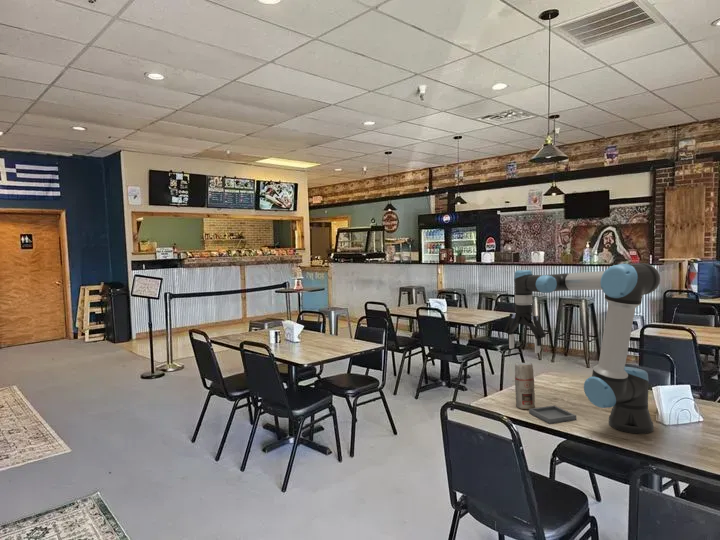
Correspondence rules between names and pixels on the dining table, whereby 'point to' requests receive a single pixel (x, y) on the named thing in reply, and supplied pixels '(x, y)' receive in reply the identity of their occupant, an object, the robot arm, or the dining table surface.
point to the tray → (552, 414)
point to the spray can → (524, 385)
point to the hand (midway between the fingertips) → (524, 350)
